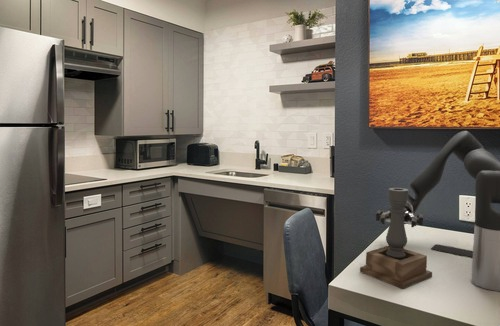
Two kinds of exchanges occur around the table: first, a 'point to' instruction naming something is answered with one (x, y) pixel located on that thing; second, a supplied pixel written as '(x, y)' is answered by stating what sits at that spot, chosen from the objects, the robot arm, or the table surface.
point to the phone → (453, 250)
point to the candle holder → (397, 223)
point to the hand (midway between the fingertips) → (397, 222)
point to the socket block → (396, 267)
